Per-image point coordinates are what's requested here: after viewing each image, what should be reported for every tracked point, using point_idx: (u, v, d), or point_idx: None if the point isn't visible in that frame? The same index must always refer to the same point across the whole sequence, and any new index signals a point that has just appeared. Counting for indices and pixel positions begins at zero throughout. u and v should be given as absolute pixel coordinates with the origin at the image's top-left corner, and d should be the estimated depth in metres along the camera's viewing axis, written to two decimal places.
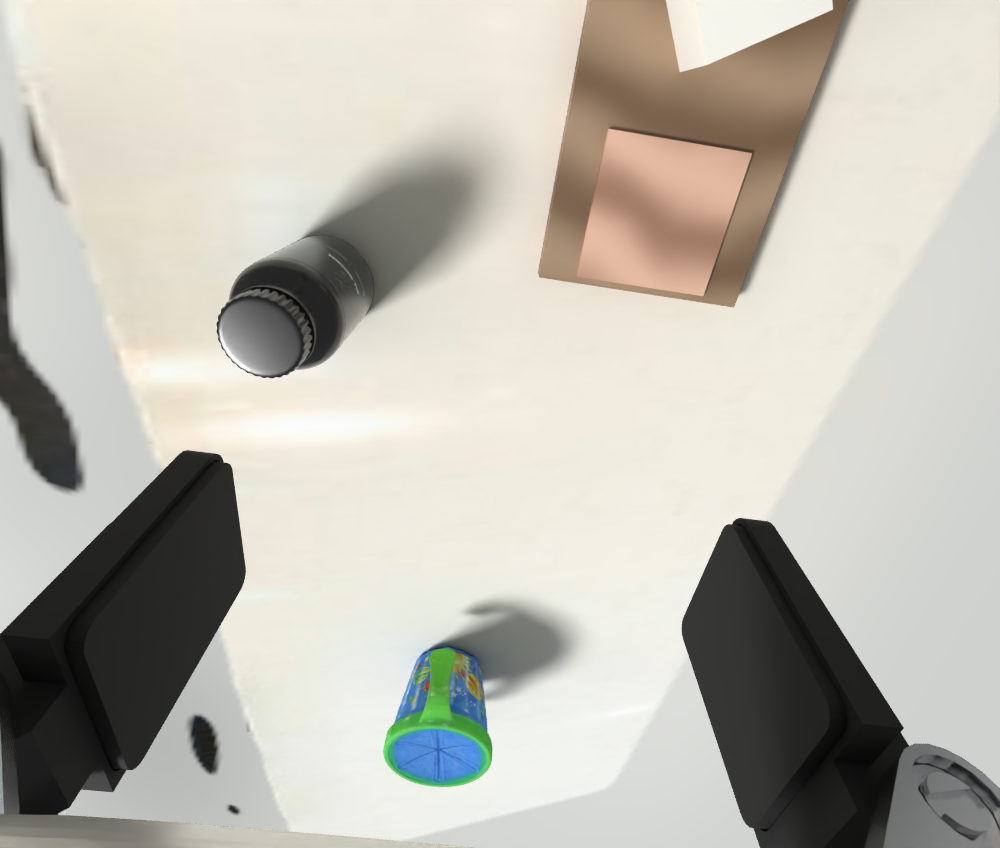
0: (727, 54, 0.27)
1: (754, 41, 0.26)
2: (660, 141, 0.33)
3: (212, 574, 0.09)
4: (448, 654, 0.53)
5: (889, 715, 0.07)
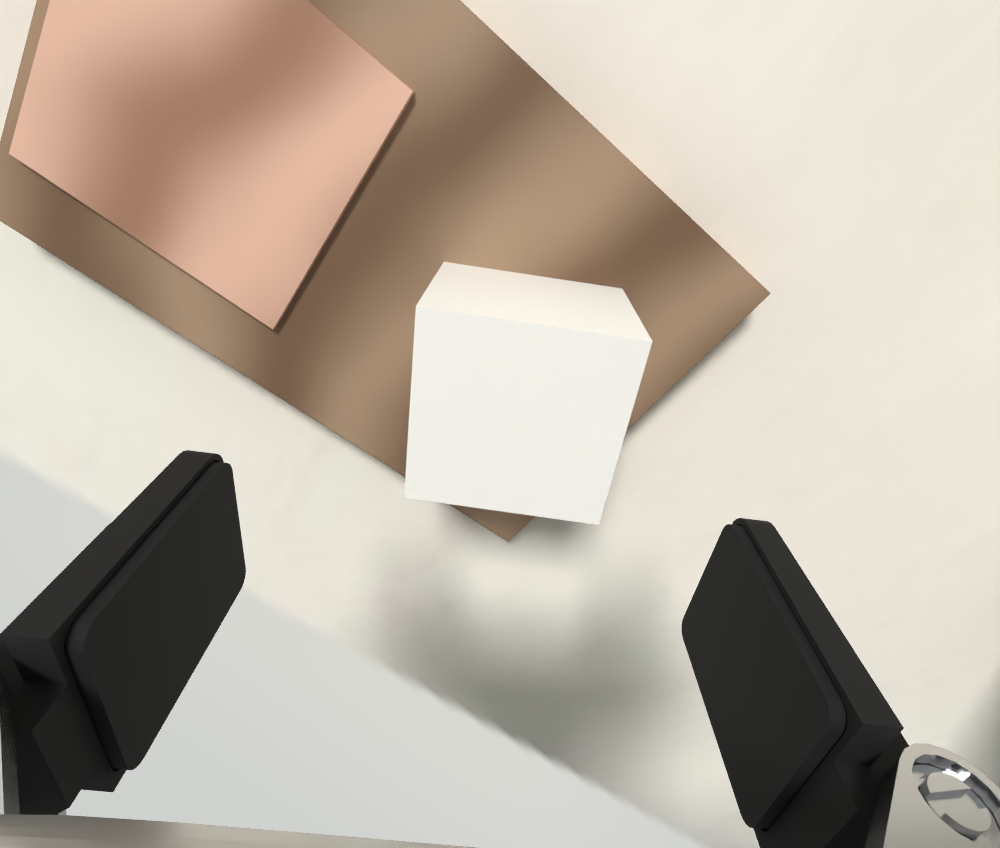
0: (415, 345, 0.14)
1: (413, 391, 0.15)
2: (349, 185, 0.16)
3: (212, 574, 0.09)
4: None
5: (889, 715, 0.07)
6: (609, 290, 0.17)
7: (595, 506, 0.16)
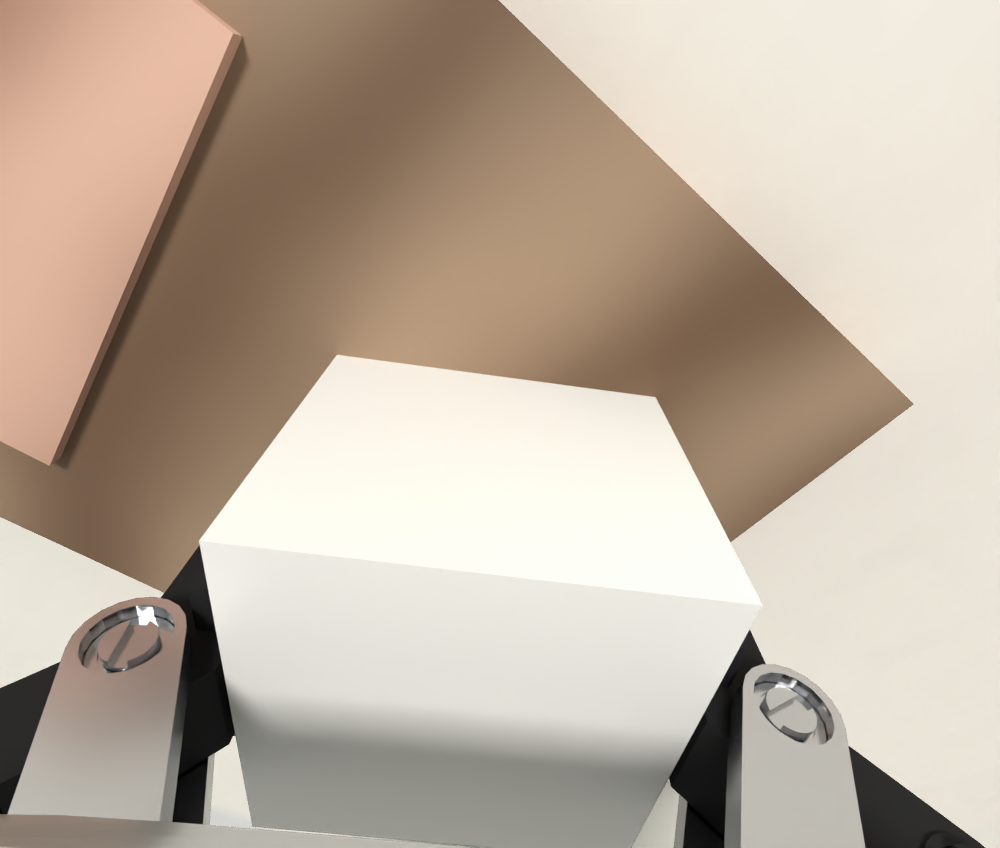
0: (217, 610, 0.06)
1: (233, 684, 0.07)
2: (136, 224, 0.09)
3: None
4: None
5: None
6: (634, 406, 0.10)
7: (619, 838, 0.08)
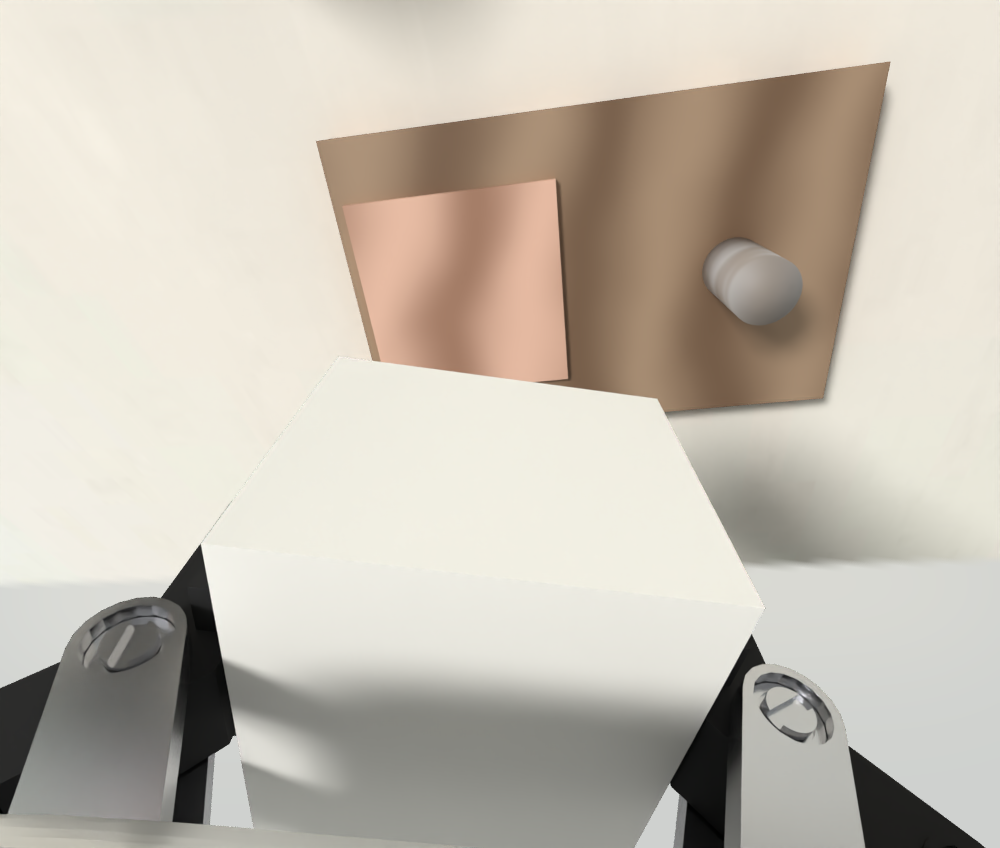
0: (219, 613, 0.06)
1: (235, 686, 0.07)
2: (556, 261, 0.23)
3: None
4: None
5: None
6: (636, 408, 0.10)
7: (620, 841, 0.08)
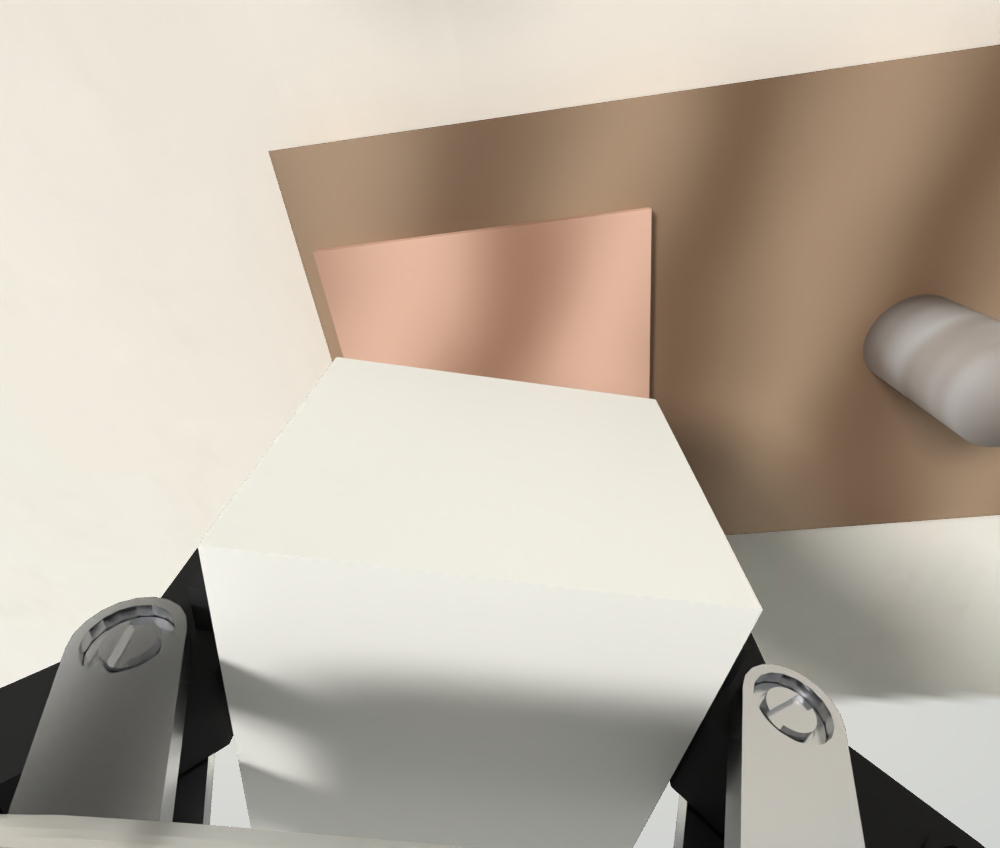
0: (216, 614, 0.06)
1: (232, 687, 0.07)
2: (642, 331, 0.15)
3: None
4: None
5: None
6: (634, 408, 0.10)
7: (619, 842, 0.08)
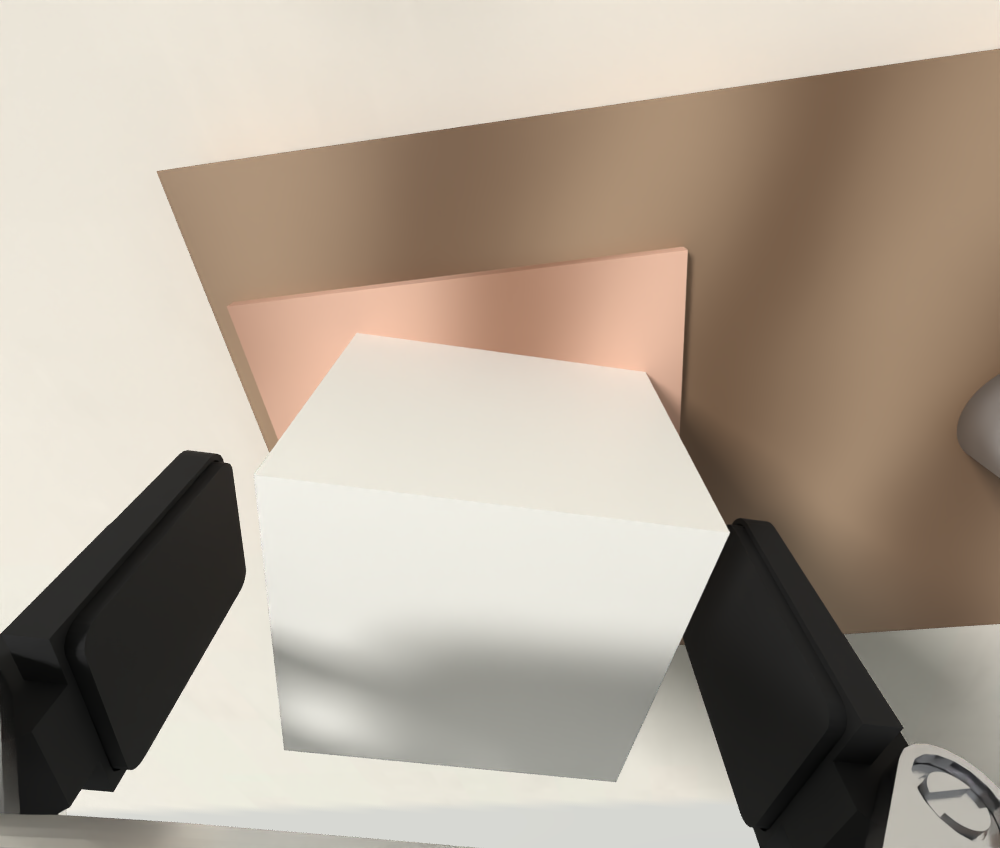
0: (265, 539, 0.07)
1: (274, 608, 0.08)
2: (671, 405, 0.12)
3: (212, 574, 0.09)
4: None
5: (888, 715, 0.07)
6: (626, 379, 0.11)
7: (611, 760, 0.09)
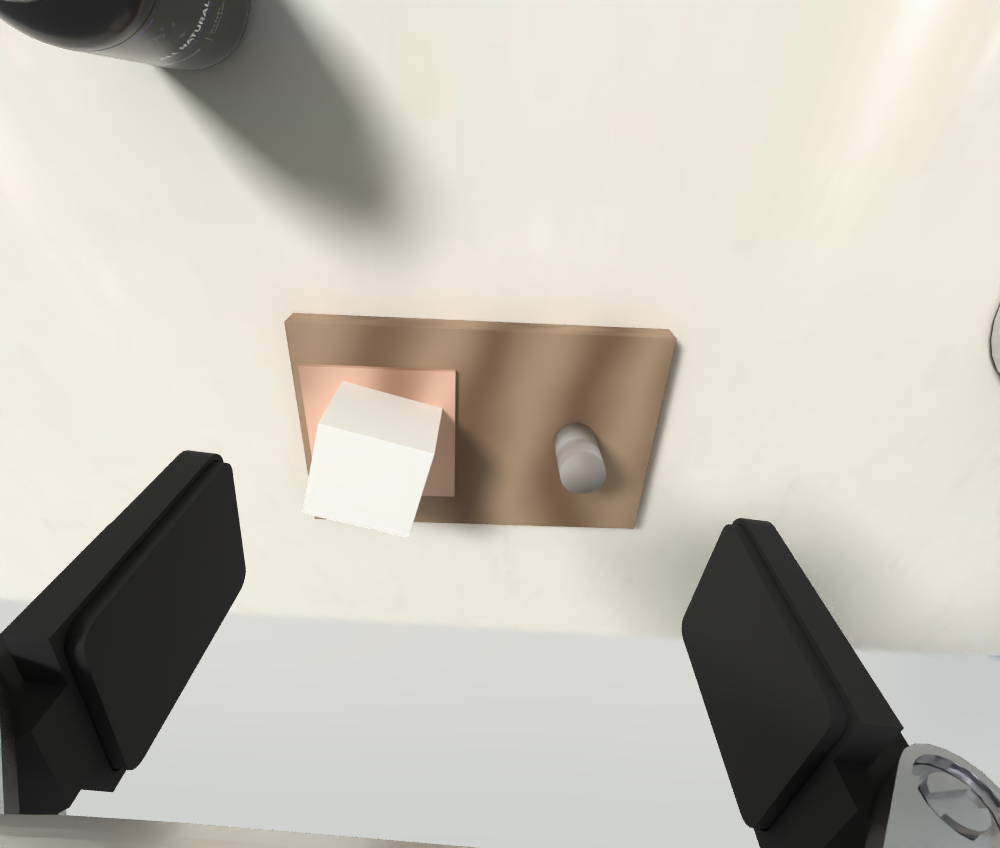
0: (316, 440, 0.27)
1: (313, 461, 0.28)
2: (451, 421, 0.33)
3: (212, 574, 0.09)
4: None
5: (889, 715, 0.07)
6: (433, 410, 0.32)
7: (406, 528, 0.30)
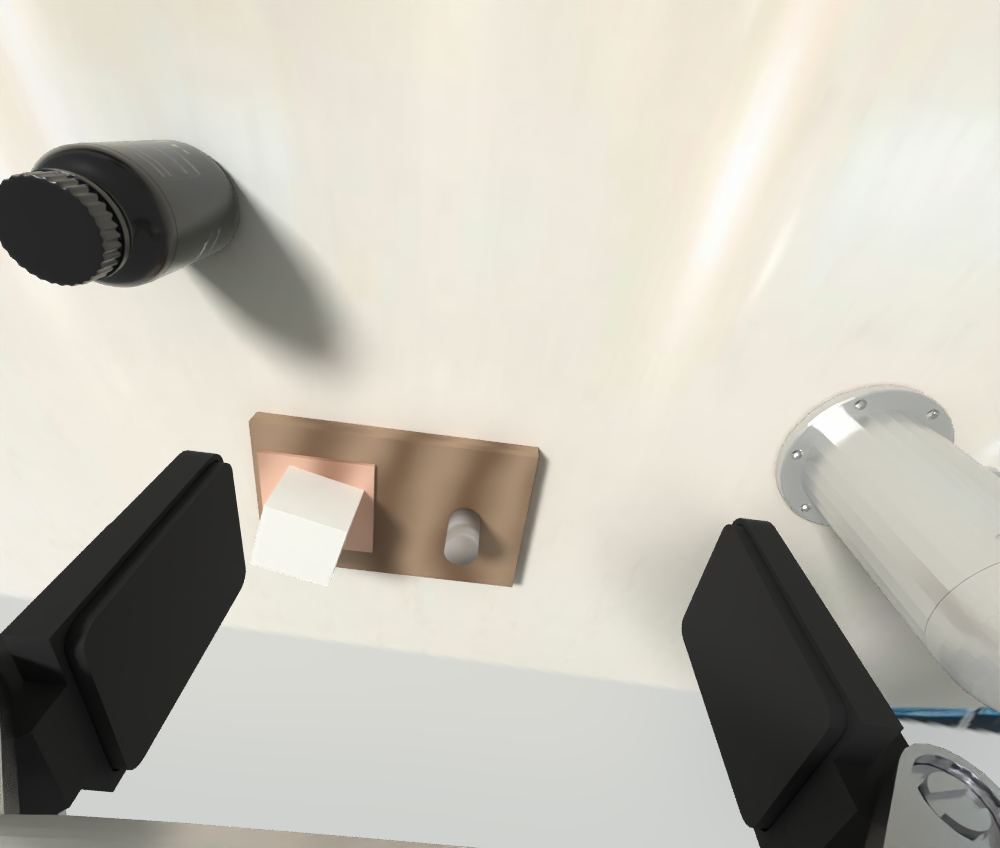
0: (261, 516, 0.38)
1: (258, 529, 0.38)
2: (371, 499, 0.43)
3: (212, 574, 0.09)
4: None
5: (888, 715, 0.07)
6: (356, 492, 0.42)
7: (326, 580, 0.41)
